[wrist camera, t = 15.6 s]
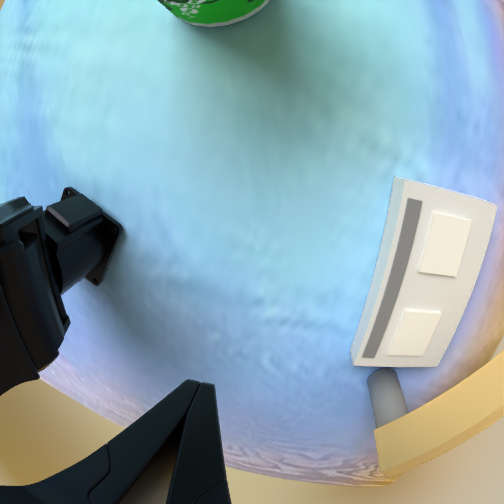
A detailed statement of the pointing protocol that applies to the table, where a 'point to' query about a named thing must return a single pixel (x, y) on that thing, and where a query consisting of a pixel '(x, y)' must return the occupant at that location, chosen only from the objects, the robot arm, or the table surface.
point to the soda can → (213, 10)
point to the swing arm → (432, 416)
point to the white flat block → (422, 275)
